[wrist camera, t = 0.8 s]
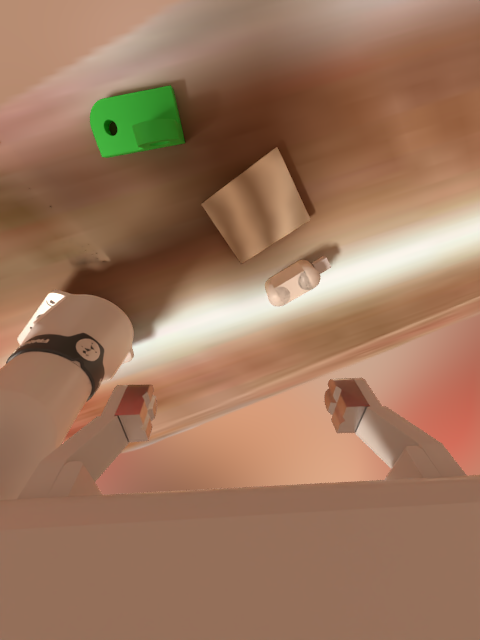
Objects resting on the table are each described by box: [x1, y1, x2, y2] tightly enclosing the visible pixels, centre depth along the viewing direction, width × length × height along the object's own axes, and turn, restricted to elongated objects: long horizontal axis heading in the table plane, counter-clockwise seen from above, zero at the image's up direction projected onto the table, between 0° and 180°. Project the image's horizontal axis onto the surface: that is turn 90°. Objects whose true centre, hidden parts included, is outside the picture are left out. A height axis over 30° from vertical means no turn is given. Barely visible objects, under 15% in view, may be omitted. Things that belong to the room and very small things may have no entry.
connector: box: [265, 256, 331, 306], centre depth 46 cm, size 12×4×5 cm, turn 123°
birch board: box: [201, 147, 311, 264], centre depth 41 cm, size 14×12×2 cm
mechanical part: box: [90, 85, 185, 158], centre depth 32 cm, size 12×6×8 cm, turn 99°
